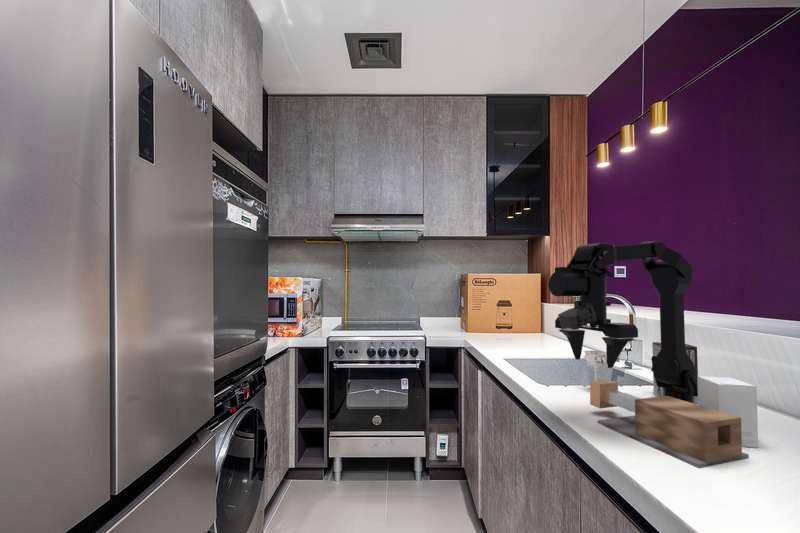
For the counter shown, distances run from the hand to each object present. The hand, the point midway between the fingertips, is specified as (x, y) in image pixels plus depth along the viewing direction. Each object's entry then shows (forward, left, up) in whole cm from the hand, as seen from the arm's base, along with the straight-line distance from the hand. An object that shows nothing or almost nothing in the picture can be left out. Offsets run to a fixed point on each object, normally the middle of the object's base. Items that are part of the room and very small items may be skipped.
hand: (593, 363), depth 85 cm
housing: (-10, +10, -14) cm, 20 cm away
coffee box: (-41, -9, -15) cm, 44 cm away
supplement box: (-23, +14, -15) cm, 30 cm away
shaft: (-10, +3, -12) cm, 16 cm away
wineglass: (-24, -21, -15) cm, 35 cm away
